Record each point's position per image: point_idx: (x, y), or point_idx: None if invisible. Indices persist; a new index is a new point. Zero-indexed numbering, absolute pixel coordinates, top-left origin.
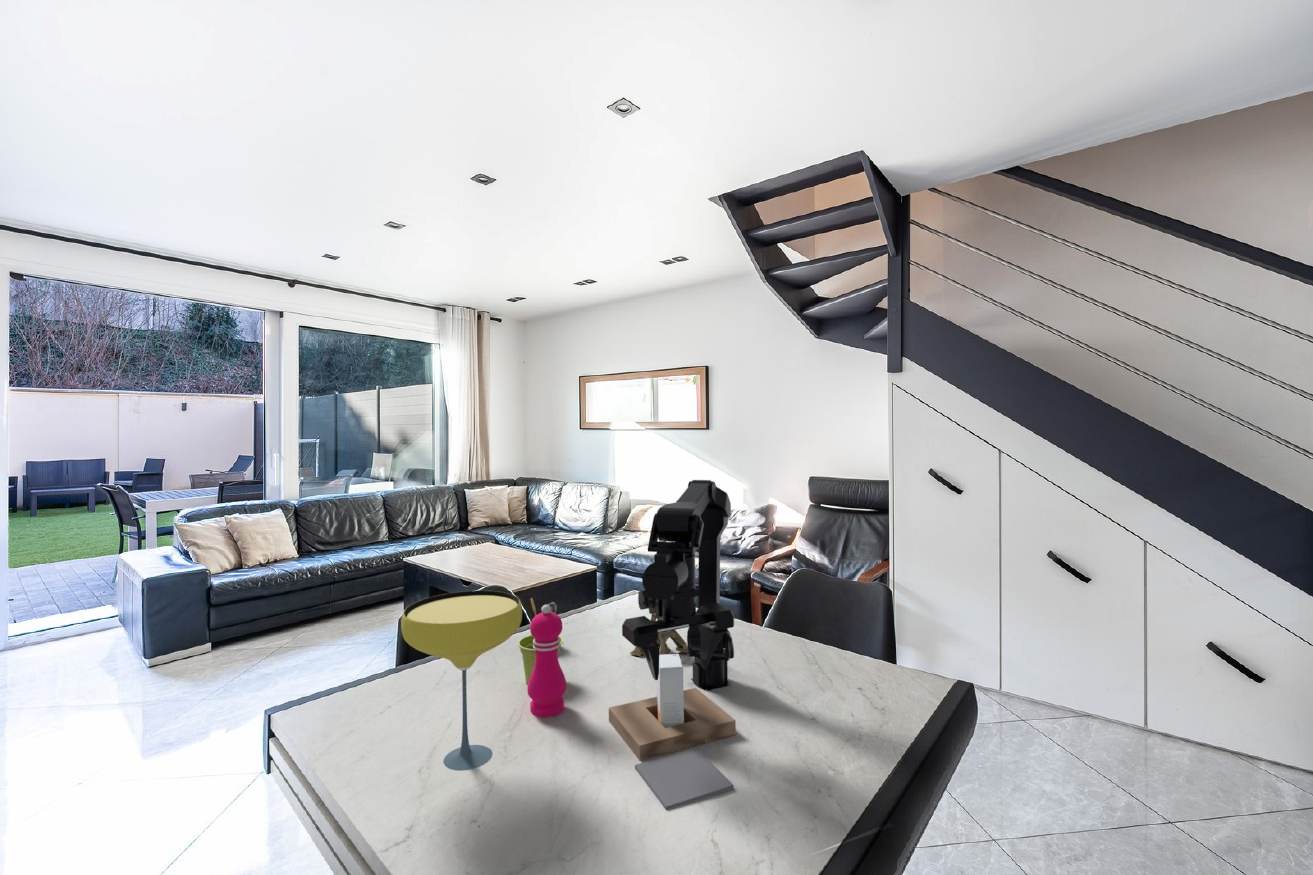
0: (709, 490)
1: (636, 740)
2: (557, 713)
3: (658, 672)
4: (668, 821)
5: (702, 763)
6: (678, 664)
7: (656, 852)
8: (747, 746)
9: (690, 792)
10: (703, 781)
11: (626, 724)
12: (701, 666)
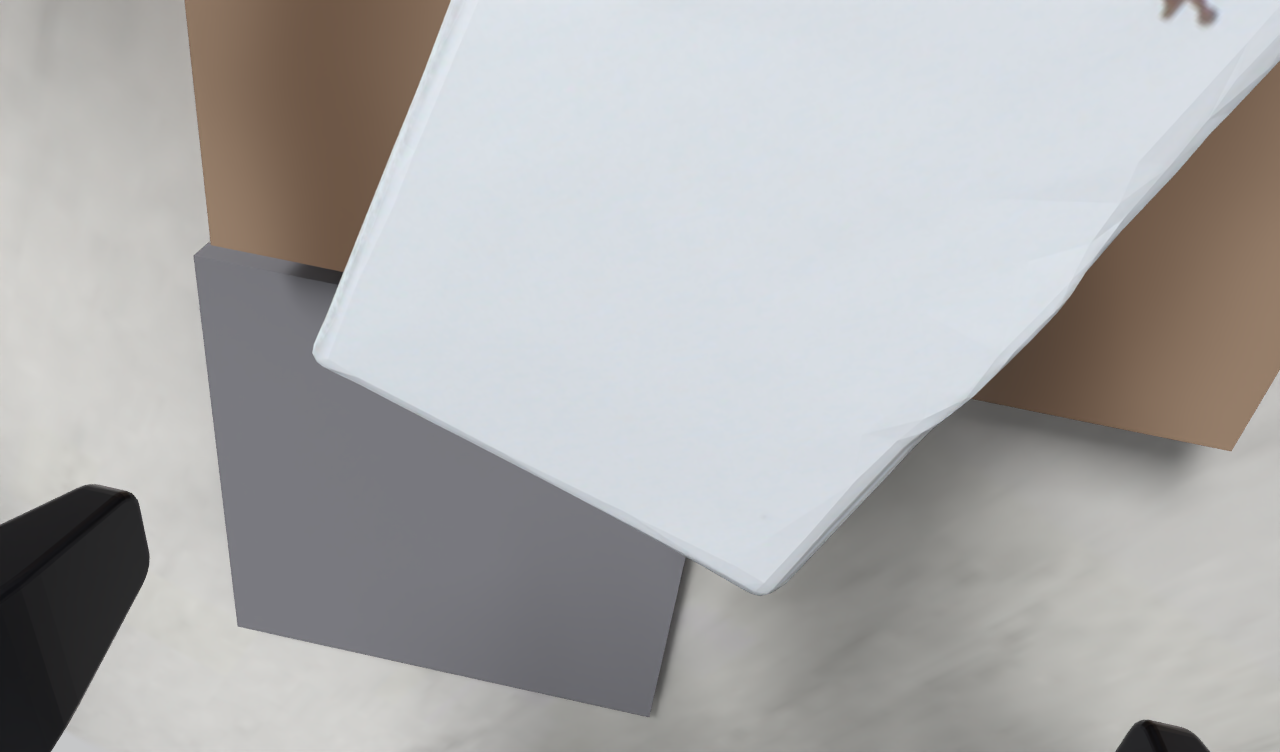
0: None
1: (209, 165)
2: None
3: (45, 741)
4: (234, 652)
5: None
6: (775, 483)
7: (125, 722)
8: (1097, 519)
9: (405, 631)
10: (521, 619)
11: None
12: (1139, 728)
